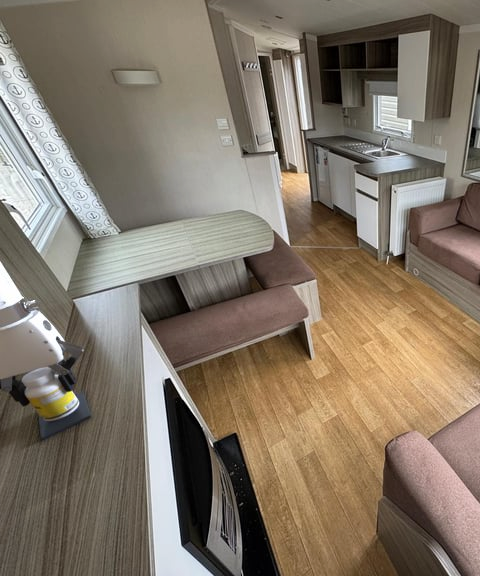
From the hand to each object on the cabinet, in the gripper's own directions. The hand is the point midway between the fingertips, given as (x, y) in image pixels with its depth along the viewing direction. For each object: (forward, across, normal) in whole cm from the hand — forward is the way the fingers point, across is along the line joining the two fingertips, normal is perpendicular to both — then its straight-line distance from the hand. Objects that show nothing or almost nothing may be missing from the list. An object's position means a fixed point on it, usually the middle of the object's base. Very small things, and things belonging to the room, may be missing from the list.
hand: (50, 393), depth 59 cm
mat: (+6, 0, 0) cm, 6 cm away
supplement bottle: (+5, 0, 0) cm, 5 cm away
